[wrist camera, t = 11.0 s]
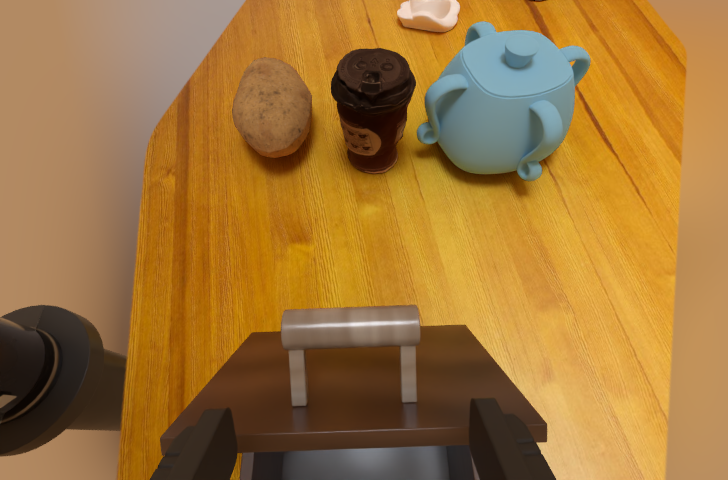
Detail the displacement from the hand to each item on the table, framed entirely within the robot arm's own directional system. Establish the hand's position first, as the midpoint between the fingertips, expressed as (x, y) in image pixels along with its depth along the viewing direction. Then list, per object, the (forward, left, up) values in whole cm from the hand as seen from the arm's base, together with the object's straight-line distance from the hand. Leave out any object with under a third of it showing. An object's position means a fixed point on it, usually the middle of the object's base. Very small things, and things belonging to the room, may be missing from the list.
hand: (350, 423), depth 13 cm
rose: (+12, +60, -24) cm, 65 cm away
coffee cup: (+2, +32, -24) cm, 40 cm away
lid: (0, +3, -9) cm, 9 cm away
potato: (-10, +36, -24) cm, 44 cm away
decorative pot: (+17, +34, -24) cm, 45 cm away
